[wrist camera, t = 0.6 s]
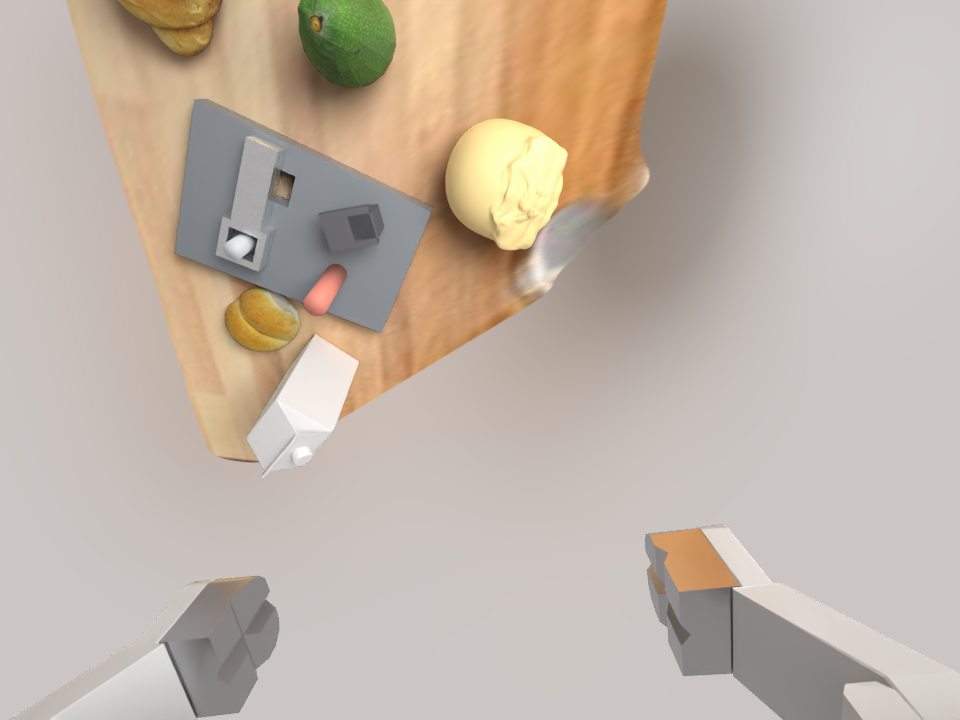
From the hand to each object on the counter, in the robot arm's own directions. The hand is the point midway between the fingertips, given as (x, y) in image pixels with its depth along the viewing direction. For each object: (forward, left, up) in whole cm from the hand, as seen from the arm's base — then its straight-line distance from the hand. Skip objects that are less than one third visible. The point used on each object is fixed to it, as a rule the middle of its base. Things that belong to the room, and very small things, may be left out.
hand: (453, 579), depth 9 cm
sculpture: (-2, +4, -48) cm, 48 cm away
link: (+12, -19, -45) cm, 51 cm away
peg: (+16, -9, -45) cm, 49 cm away
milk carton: (+31, -7, -48) cm, 58 cm away
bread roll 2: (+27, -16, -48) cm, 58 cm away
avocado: (-7, -14, -48) cm, 51 cm away
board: (+13, -14, -48) cm, 52 cm away
